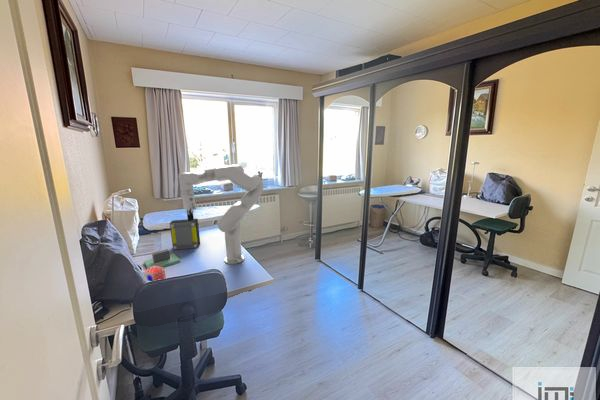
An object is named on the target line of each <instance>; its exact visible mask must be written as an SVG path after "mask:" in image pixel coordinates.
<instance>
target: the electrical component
mask: <svg viewBox="0 0 600 400" xmlns="http://www.w3.org/2000/svg"><path fill="white" fill-rule="evenodd" d="M199 227H200V226H199V219H198V218H194V220H191V221H188V218H187V219H173V220H171V221H170V222H169V228H170V229H169V230H170V235H171V243H172V249H173V251H174V250H184V249H193V248H195V249H197V248H200V245H201V237H200V229H199Z"/></svg>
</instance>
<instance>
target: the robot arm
mask: <svg viewBox="0 0 600 400" xmlns="http://www.w3.org/2000/svg"><path fill="white" fill-rule="evenodd" d="M212 181H218V182H222V181H223V182H224V181H230V182H232V183H233V184H234V185H236V186H238V187H239V188H240V189H242V190H244V191H246V192H245V193H244V194H243V196H241V198H240V199H239V200H238V201H237V202H235V203H234V204H232V205H231V206H230V207H229V209H227V211H226V212H225V213H224V214H223V215H222V216H221V218H220V219H219V220H218V225H217V227H218V229H219V231H220V232H222V233H224V241H225V253H226V256H225V258H224V259H223V261H224V262H225V263H226V264H229V265H236V264H239V263H242V262H243V261H244V260H245V255H243V254H242V241H241V221H242V219H243V218H245V217H246V216H247V214H248V213H249V212H250V211H251V209H252V208H253V206H254V205H255V204H256V203H257V202H258V201H259V199H260V197H261V196H262V194H263V191H264V182H263V180H262V178H261V176H260V175H257V174H249V175H248V174H246V173H245V169H244V167H243V166H242V165H241V164H237V163H236V164H231V165H224V166H219V167H213V168H210V169H204V170H199V171H194V172H189V171H186V172H180V173H178V183H179V189H180V196H182V198H181V199H182V206H183V209H184V210H185V211H186V214H187V217H186V218H187V219H188V221H191V220H194V219H195V218H194V210H195V211H196V210H197V205H196V198H195V196H194V195H195V191H194V185H195V186H196V185H200V184H203V183H207V182H212Z"/></svg>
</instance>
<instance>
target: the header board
mask: <svg viewBox="0 0 600 400" xmlns="http://www.w3.org/2000/svg"><path fill="white" fill-rule="evenodd" d="M178 263H181V259H180V258H179V257H178V256H177V255H176V254H175V253H173V252H172V253H170V259H169V260H165V261H162V262H158V263H154V262H153V258H151V259H146V260H144V261H143V264H144V266H145V265H146V266H145V267H146V269H148V268H150V267H152V266H154V265H155V266H160V267H164V268H166V267H168V266H171V265H174V264H178Z"/></svg>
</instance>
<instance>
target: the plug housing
mask: <svg viewBox="0 0 600 400" xmlns="http://www.w3.org/2000/svg"><path fill="white" fill-rule="evenodd" d="M170 254H171V253H170V249H168V248H166V249H162V250H158V251H155V252H151V255H152V259H153V262H154V263H158V262H162V261H165V260H169V259H170Z"/></svg>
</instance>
